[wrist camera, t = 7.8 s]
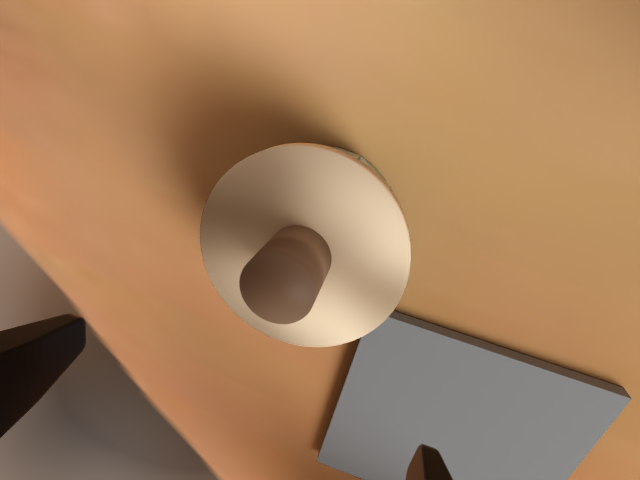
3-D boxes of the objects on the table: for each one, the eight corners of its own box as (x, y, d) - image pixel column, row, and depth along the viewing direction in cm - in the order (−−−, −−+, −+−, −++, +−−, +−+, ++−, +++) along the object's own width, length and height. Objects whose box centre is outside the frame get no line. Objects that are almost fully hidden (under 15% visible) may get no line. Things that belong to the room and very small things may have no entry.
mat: (515, 527, 26) (518, 540, 25) (319, 451, 27) (316, 461, 26) (623, 387, 20) (631, 398, 20) (372, 303, 22) (370, 311, 21)
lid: (375, 359, 18) (366, 425, 15) (201, 300, 19) (153, 348, 16) (442, 177, 15) (452, 206, 11) (223, 117, 16) (166, 125, 12)
